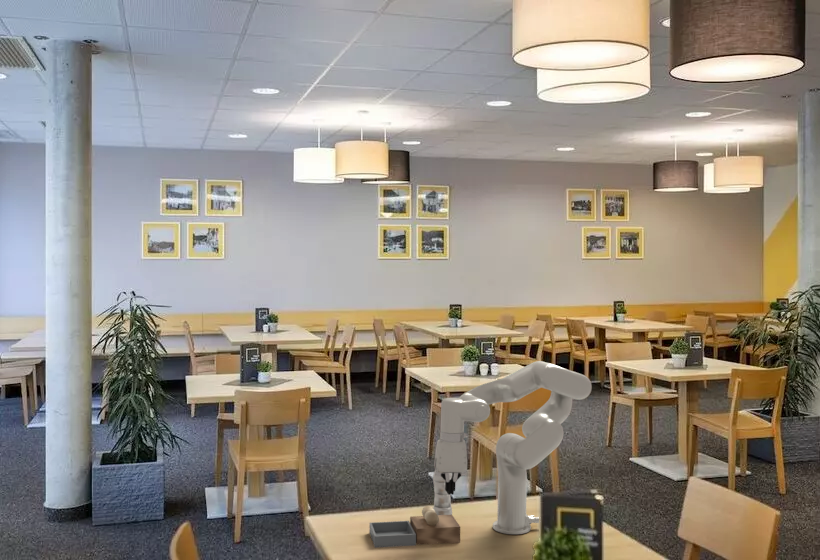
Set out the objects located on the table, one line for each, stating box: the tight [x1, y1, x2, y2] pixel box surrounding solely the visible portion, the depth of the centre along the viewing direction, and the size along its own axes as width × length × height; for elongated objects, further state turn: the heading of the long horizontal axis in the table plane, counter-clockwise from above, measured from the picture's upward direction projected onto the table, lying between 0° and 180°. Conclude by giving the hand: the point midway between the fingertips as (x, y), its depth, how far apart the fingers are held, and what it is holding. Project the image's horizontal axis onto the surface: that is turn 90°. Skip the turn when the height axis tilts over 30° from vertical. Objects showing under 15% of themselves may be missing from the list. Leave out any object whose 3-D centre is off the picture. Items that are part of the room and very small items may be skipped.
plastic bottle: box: [432, 473, 453, 516], centre depth 280 cm, size 6×7×20 cm
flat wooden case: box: [409, 514, 461, 546], centre depth 264 cm, size 14×12×5 cm
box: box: [369, 520, 417, 549], centre depth 261 cm, size 13×13×4 cm
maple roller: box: [421, 505, 439, 526], centre depth 263 cm, size 4×8×4 cm, turn 10°
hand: (450, 493), depth 264 cm, fingers closed
